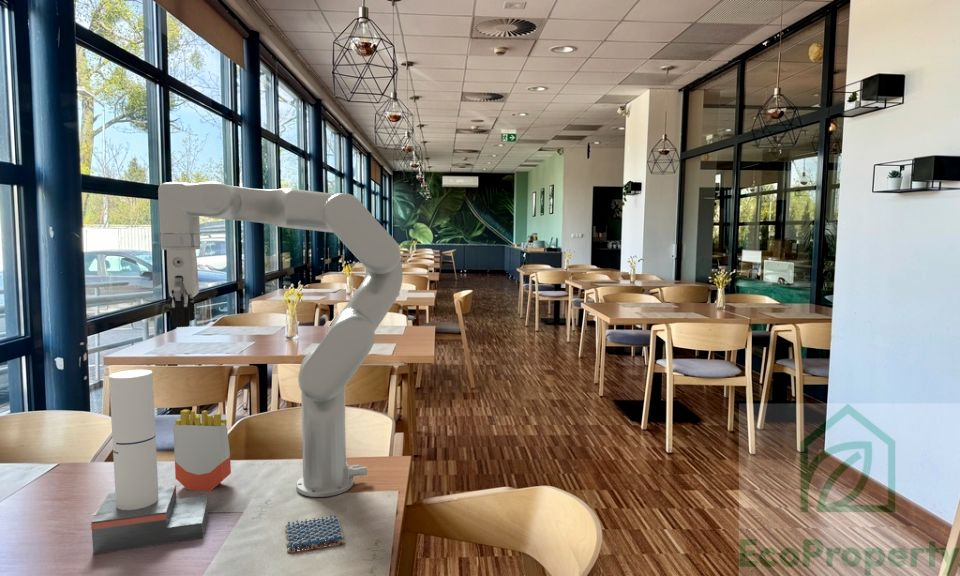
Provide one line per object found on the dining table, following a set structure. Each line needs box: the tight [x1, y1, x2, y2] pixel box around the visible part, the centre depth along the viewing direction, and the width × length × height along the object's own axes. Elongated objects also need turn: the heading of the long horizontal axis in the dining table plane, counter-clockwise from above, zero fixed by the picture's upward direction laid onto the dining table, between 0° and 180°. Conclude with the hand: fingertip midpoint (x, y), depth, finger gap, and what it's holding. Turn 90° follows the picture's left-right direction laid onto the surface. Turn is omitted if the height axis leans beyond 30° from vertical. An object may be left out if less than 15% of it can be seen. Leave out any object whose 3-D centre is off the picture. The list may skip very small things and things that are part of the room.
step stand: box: [90, 484, 210, 555], centre depth 119 cm, size 18×13×6 cm
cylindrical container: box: [108, 369, 159, 510], centre depth 117 cm, size 7×7×25 cm
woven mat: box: [284, 514, 346, 553], centre depth 117 cm, size 10×11×2 cm
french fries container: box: [172, 409, 232, 491], centre depth 139 cm, size 5×11×18 cm, turn 85°
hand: (184, 323), depth 130 cm, fingers open, 9 cm apart
